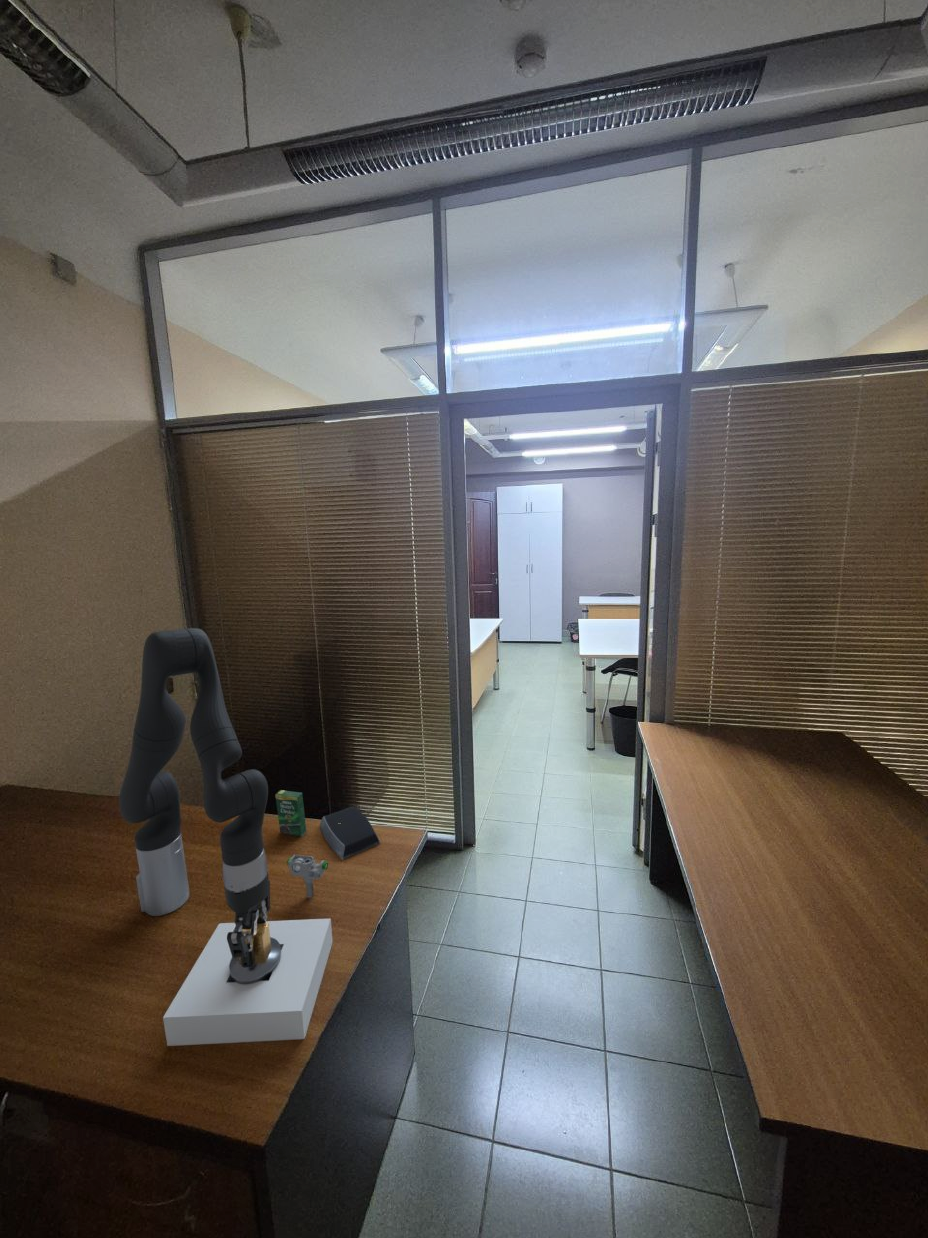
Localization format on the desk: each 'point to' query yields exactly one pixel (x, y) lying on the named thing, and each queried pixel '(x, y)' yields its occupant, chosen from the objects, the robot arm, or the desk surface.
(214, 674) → the robot arm
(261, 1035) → the housing
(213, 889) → the desk surface
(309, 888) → the mechanical component
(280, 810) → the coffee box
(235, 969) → the end cap
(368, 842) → the external hard drive
